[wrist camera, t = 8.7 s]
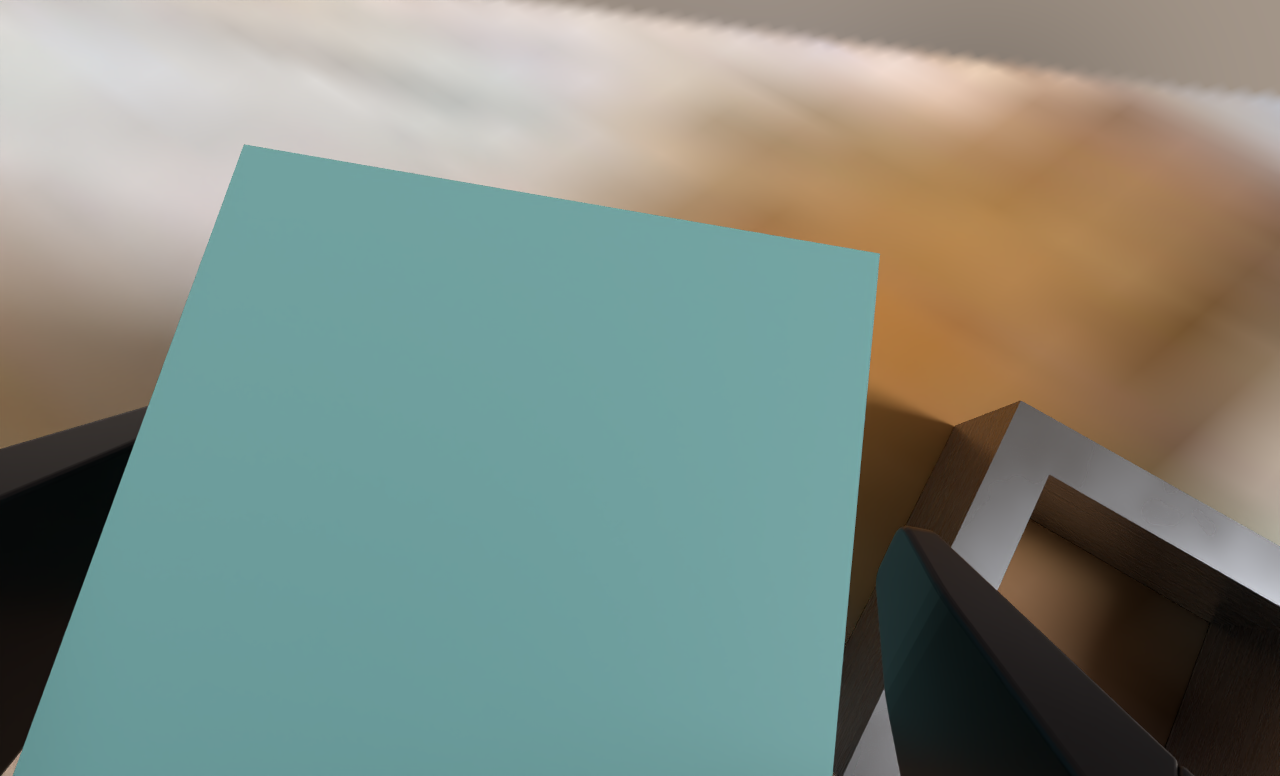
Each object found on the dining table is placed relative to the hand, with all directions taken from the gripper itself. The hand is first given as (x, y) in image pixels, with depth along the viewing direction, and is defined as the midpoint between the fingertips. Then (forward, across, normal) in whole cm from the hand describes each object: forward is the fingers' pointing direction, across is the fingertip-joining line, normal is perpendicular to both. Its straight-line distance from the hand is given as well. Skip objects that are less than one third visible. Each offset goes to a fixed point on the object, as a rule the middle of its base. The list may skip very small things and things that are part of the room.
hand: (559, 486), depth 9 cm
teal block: (+5, 0, +6) cm, 8 cm away
